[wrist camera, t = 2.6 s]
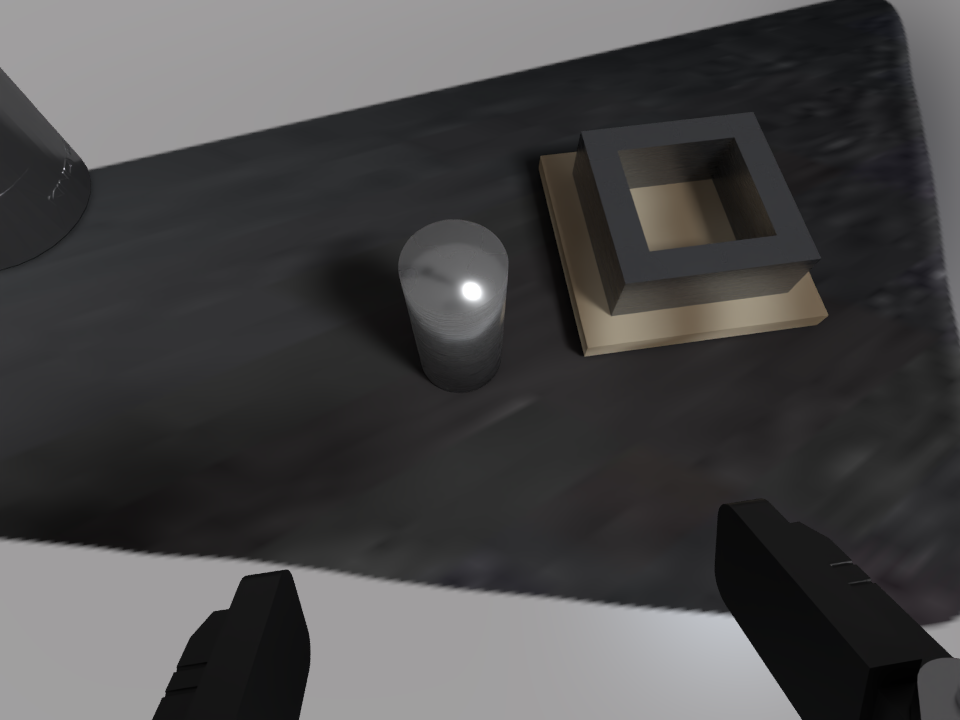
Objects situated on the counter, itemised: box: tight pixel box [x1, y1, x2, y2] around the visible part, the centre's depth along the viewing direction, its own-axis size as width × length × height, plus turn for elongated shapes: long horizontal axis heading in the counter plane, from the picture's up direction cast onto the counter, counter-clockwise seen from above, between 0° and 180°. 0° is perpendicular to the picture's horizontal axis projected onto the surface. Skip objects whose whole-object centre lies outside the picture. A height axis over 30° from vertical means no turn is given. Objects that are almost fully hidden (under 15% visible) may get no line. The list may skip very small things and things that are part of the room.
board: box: [539, 152, 828, 356], centre depth 30 cm, size 12×12×1 cm
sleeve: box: [572, 112, 821, 316], centre depth 28 cm, size 9×9×3 cm
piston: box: [398, 219, 508, 393], centre depth 24 cm, size 4×4×8 cm
